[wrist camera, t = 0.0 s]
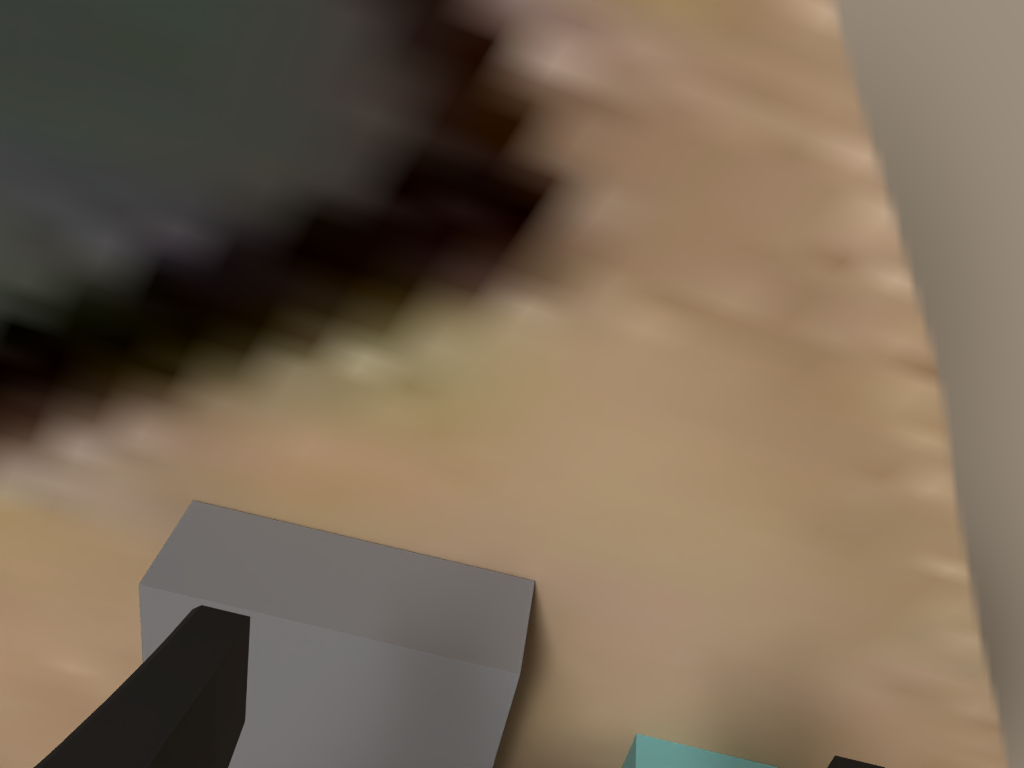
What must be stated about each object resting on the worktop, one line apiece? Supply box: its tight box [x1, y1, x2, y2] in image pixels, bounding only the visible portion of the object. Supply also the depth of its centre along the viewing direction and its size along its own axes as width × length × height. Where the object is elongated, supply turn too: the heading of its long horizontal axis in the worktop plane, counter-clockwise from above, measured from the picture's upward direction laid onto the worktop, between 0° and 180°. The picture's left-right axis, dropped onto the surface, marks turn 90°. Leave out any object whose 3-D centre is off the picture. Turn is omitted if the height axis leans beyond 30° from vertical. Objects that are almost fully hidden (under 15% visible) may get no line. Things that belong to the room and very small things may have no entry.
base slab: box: [139, 501, 535, 768], centre depth 25 cm, size 9×9×3 cm
